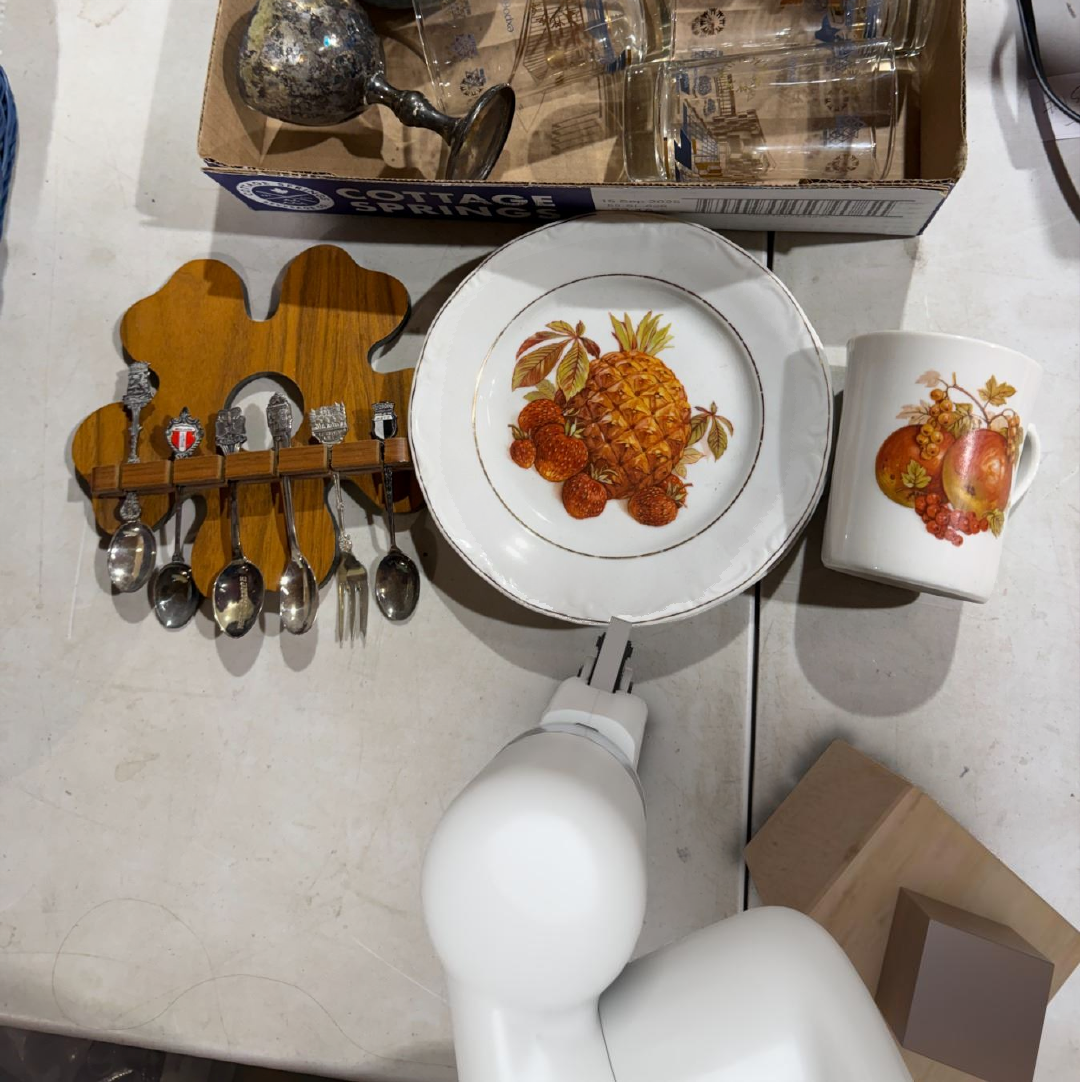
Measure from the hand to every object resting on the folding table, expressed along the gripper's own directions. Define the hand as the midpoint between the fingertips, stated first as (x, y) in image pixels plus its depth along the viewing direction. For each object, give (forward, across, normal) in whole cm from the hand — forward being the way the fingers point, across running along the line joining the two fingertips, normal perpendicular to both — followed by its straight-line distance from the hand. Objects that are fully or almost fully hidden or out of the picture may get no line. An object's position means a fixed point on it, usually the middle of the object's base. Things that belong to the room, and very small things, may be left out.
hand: (582, 758), depth 59 cm
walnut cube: (-12, -1, -18) cm, 22 cm away
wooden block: (+8, -1, -18) cm, 20 cm away
